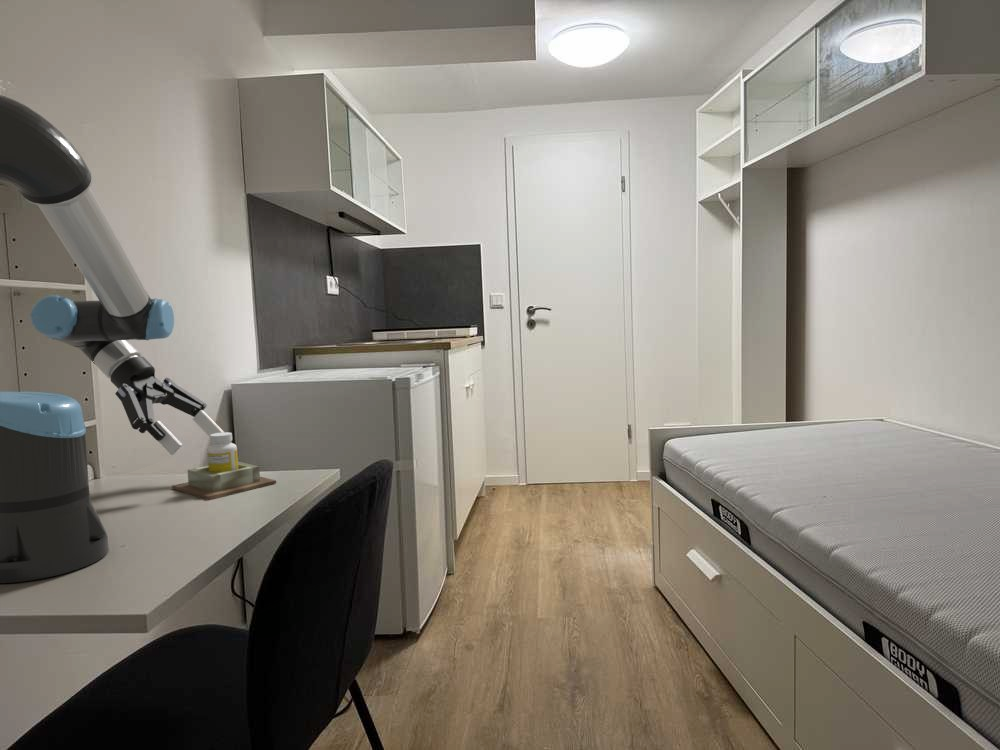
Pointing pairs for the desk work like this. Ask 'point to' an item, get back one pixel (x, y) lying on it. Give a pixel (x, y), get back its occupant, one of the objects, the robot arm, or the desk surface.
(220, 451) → the supplement bottle
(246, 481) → the socket board
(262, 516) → the desk surface
